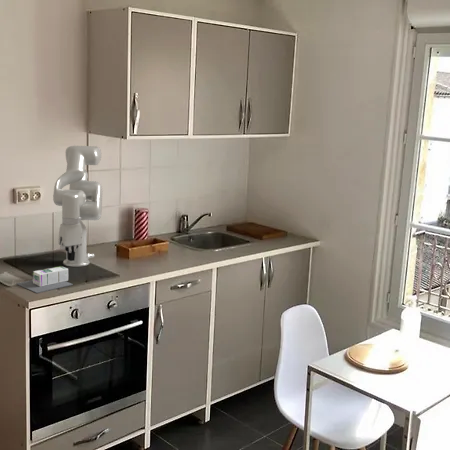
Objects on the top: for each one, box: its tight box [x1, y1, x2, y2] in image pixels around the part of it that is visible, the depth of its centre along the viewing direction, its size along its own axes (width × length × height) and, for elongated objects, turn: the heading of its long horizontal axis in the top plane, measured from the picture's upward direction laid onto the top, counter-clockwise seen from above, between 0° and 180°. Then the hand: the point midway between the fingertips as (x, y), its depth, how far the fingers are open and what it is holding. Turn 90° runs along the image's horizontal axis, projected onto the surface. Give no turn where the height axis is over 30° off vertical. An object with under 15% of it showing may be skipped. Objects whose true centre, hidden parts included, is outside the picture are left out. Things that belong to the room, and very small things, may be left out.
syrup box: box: [32, 265, 69, 287], centre depth 274 cm, size 6×6×14 cm
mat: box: [16, 279, 74, 294], centre depth 273 cm, size 18×16×1 cm
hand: (71, 260), depth 281 cm, fingers closed
